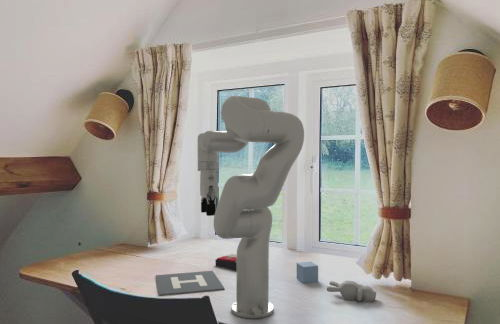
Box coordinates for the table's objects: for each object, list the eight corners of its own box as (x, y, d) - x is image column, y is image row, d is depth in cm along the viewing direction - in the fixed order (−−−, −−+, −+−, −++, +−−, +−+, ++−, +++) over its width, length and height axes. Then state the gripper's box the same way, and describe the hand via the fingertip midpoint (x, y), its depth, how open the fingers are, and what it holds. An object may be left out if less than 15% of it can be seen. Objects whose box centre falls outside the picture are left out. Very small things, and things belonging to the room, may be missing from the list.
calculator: (231, 253, 168) (258, 256, 159) (232, 262, 168) (259, 266, 159) (214, 257, 160) (242, 261, 150) (215, 268, 159) (242, 272, 150)
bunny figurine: (376, 293, 115) (326, 282, 120) (374, 310, 115) (325, 298, 120) (377, 284, 123) (331, 274, 129) (375, 299, 124) (329, 288, 129)
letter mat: (224, 289, 129) (224, 288, 129) (158, 296, 123) (158, 294, 123) (212, 271, 150) (212, 270, 150) (156, 276, 144) (156, 275, 144)
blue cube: (318, 282, 138) (318, 265, 138) (303, 283, 136) (303, 267, 137) (311, 277, 144) (311, 261, 144) (296, 278, 142) (296, 262, 142)
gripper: (223, 167, 130) (224, 216, 130) (212, 166, 147) (212, 210, 147) (202, 167, 128) (202, 217, 128) (193, 167, 144) (193, 211, 144)
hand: (208, 213), depth 137 cm, fingers open, 9 cm apart
